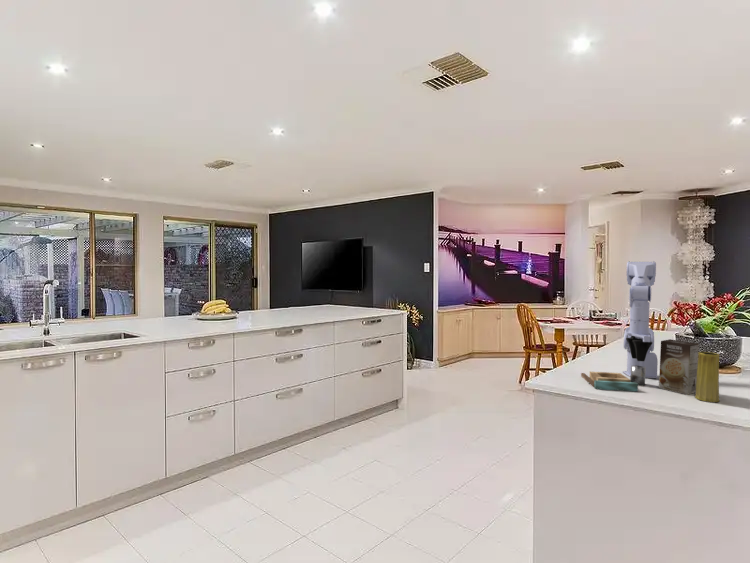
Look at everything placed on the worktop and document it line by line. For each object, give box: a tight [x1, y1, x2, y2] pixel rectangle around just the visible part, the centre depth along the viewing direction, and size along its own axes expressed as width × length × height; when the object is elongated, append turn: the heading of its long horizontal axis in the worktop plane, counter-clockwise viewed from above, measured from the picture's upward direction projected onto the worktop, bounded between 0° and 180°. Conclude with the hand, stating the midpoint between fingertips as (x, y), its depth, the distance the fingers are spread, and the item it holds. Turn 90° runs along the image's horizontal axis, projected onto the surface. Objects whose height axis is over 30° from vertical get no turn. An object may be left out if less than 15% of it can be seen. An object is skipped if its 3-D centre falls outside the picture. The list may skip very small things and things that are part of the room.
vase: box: [694, 351, 720, 403], centre depth 140 cm, size 6×6×14 cm
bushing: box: [629, 365, 646, 386], centre depth 159 cm, size 4×4×6 cm
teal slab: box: [580, 372, 639, 392], centre depth 159 cm, size 13×18×2 cm
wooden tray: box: [588, 371, 630, 382], centre depth 157 cm, size 10×10×3 cm
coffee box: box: [658, 339, 700, 395], centre depth 151 cm, size 9×6×16 cm
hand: (638, 359), depth 158 cm, fingers open, 4 cm apart
